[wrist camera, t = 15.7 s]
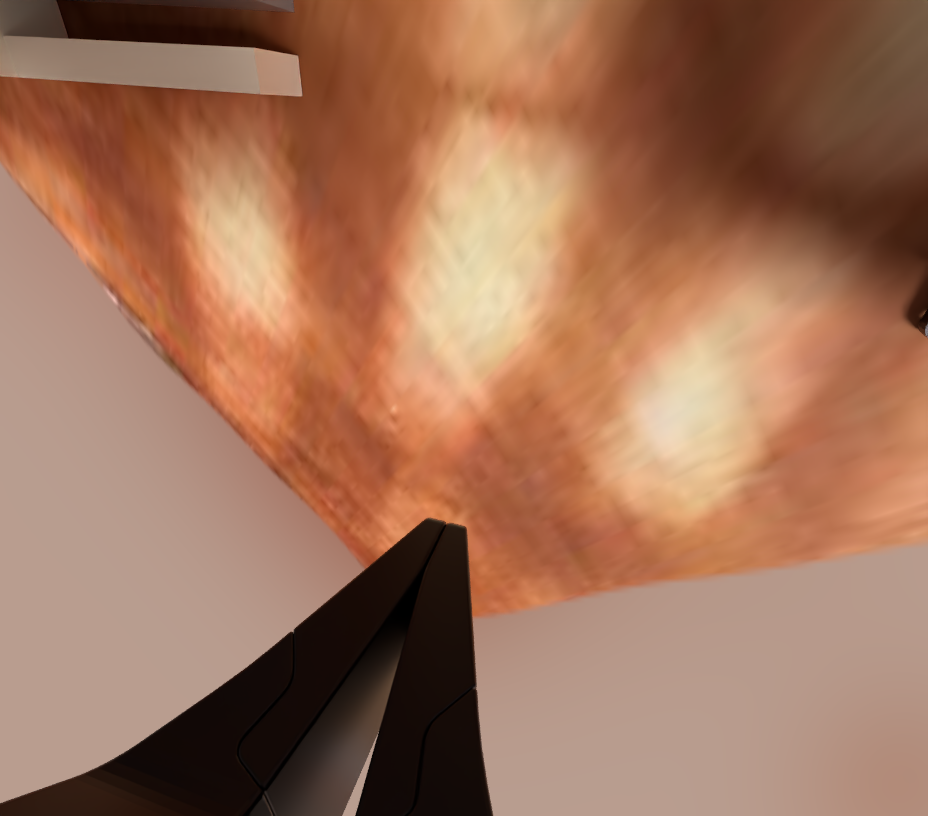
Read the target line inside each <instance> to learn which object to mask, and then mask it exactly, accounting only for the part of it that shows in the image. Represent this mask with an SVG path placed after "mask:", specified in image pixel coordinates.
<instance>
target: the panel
mask: <svg viewBox="0 0 928 816" xmlns="http://www.w3.org/2000/svg"><path fill="white" fill-rule="evenodd" d="M68 1H87V2H106V3H125V4H144V5H163V6H182V7H201V8H220V9H239V10H258V11H277V12H294V3H293V0H68Z"/></svg>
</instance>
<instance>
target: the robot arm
mask: <svg viewBox="0 0 928 816" xmlns="http://www.w3.org/2000/svg"><path fill="white" fill-rule="evenodd" d="M919 331H920V332H921V333H922V334H923V335H924V336H926V337H927V338H928V309H927V311H926V312H925V314H924V315H923V317H922V319H921V320H920V323H919ZM476 687H477V683H476V668H475V651H474V635H473V619H472V603H471V587H470V571H469V555H468V539H467V528H466V527H465V526H462V525H458V524H454V523H448V524H446V522H444V521H441V520H437V519H433V518H427V519H425V520H424V521H422V522H421V523H420V524H419V525H418V526H416V527H415V528H414V529H413V530H412V531H411V532H409V533H408V534H407V535H406V536H405V537H403V538H402V539H401V540H400V541H399V542H397V543H396V544H395V545H394V546H393V547H391V548H390V549H389V550H388V551H387V552H385V553H384V554H383V555H382V556H381V557H379V558H378V559H377V560H376V561H375V562H373V563H372V564H371V565H370V566H369V567H368V568H366V569H365V570H364V571H363V572H362V573H360V574H359V575H358V576H357V577H356V578H354V579H353V580H352V581H351V582H350V583H348V584H347V585H346V586H345V587H344V588H342V589H341V590H340V591H339V592H338V593H337V594H335V595H334V596H333V597H332V598H330V599H329V600H328V601H327V602H326V603H325V604H323V605H322V606H321V607H320V608H319V609H317V610H316V611H315V612H314V613H313V614H311V615H310V616H309V617H308V618H307V619H305V620H304V621H303V622H302V623H301V624H299V625H298V626H297V627H296V628H295V629H294V633H293V632H290V633H288V634H287V635H286V636H285V637H284V638H282V639H281V640H280V641H279V642H278V643H277V644H275V645H274V646H273V647H272V648H270V649H269V650H268V651H267V652H265V653H264V654H263V655H262V656H260V657H259V658H258V659H257V660H255V661H254V662H253V663H252V664H250V665H249V666H248V667H247V668H245V669H244V670H243V671H241V672H240V673H238V674H237V675H235V676H234V677H233V678H232V679H230V680H229V681H227V682H226V683H224V684H223V685H222V686H220V687H219V688H218V689H216V690H215V691H213V692H212V693H210V694H209V695H207V696H206V697H205V698H203V699H202V700H200V701H199V702H197V703H196V704H194V705H193V706H192V707H190V708H189V709H187V710H186V711H185V712H183V713H182V714H180V715H179V716H177V717H176V718H174V719H173V720H172V721H170V722H169V723H167V724H166V725H164V726H163V727H161V728H160V729H159V730H157V731H156V732H154V733H153V734H151V735H150V736H148V737H147V738H146V739H144V740H143V741H141V742H140V743H138V744H137V745H136V746H134V747H132V748H131V749H129V750H128V751H126V752H124V753H123V754H121V755H119V756H118V757H116V758H114V759H112V760H110V761H109V762H107V763H105V764H103V765H101V766H99V767H97V768H95V769H92V770H90V771H88V772H86V773H84V774H81V775H79V776H76V777H74V778H71V779H68V780H65V781H62V782H59V783H56V784H54V785H51V786H48V787H45V788H42V789H39V790H37V791H34V792H31V793H28V794H25V795H22V796H20V797H17V798H14V799H11V800H8V801H6V802H3V803H0V816H342V815H343V812H344V810H345V808H346V805H347V803H348V801H349V798H350V796H351V794H352V792H353V789H354V787H355V785H356V782H357V780H358V778H359V775H360V773H361V771H362V768H363V766H364V764H365V762H366V759H367V757H368V755H369V752H370V750H371V748H372V745H373V743H374V741H375V738H376V736H377V734H378V737H377V740H376V744H375V748H374V751H373V755H372V758H371V762H370V765H369V769H368V773H367V776H366V780H365V783H364V787H363V790H362V794H361V798H360V802H359V805H358V808H357V812H356V815H355V816H493V812H492V806H491V801H490V795H489V790H488V784H487V778H486V771H485V765H484V758H483V752H482V744H481V733H480V723H479V712H478V695H477V690H476ZM378 732H379V733H378Z"/></svg>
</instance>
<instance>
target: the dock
mask: <svg viewBox="0 0 928 816" xmlns="http://www.w3.org/2000/svg"><path fill="white" fill-rule="evenodd" d="M0 76H4V77H20V78H35V79H49V80H63V81H78V82H92V83H106V84H121V85H135V86H149V87H164V88H178V89H192V90H207V91H221V92H235V93H250V94H265V95H284V96H302V87H301V78H300V68H299V59H298V56H297V55H291V54H286V53H280V52H275V51H269V50H264V49H258V48H249V47H229V46H208V45H187V44H167V43H146V42H126V41H105V40H84V39H69V38H68V35H67V32H66V29H65V26H64V22H63V19H62V16H61V13H60V10H59V7H58V4H57V0H0Z"/></svg>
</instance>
